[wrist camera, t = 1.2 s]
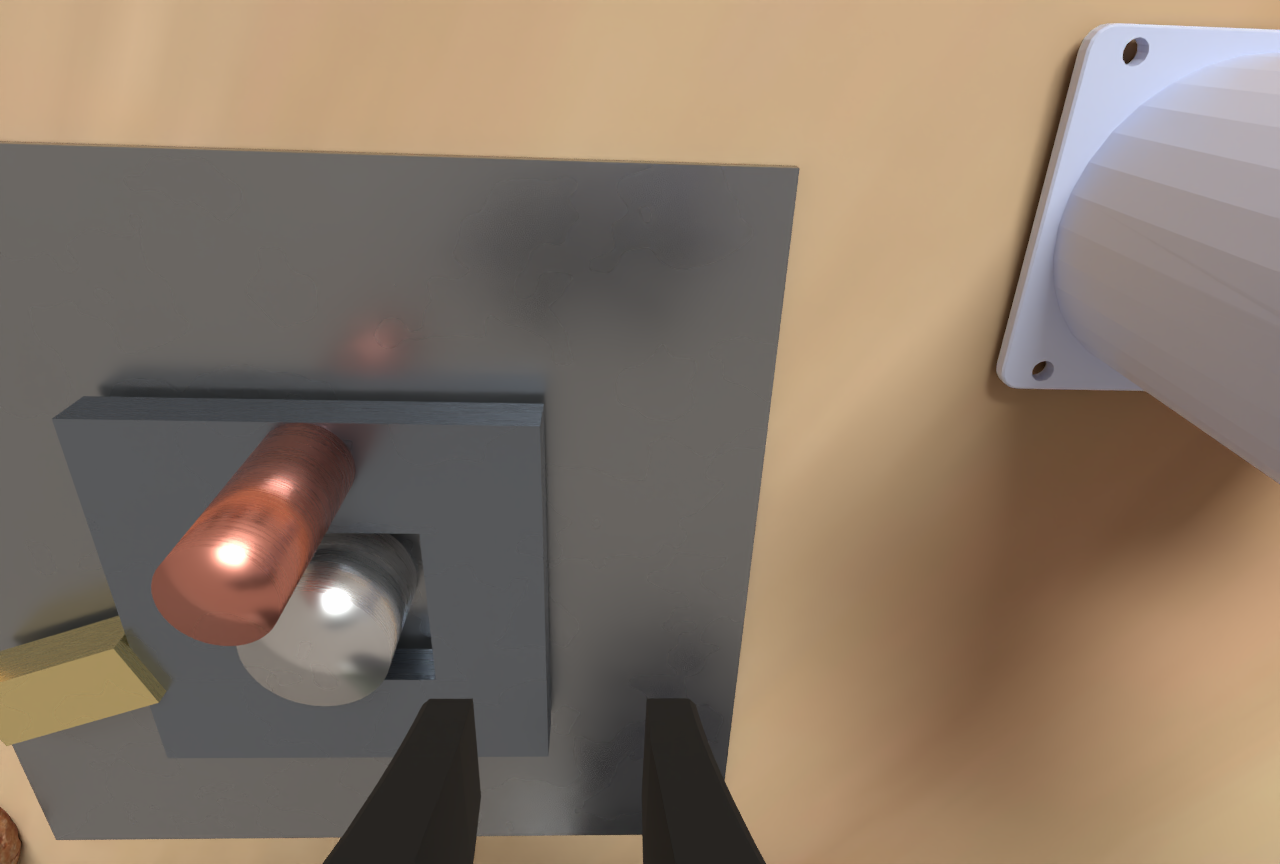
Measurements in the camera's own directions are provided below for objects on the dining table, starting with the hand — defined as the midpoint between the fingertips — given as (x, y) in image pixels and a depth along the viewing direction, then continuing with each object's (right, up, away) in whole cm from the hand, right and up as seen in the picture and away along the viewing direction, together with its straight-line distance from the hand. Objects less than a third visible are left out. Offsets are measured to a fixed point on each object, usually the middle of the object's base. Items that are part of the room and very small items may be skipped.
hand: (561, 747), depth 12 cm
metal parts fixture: (-9, +1, +10) cm, 13 cm away
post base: (-7, +1, +10) cm, 12 cm away
